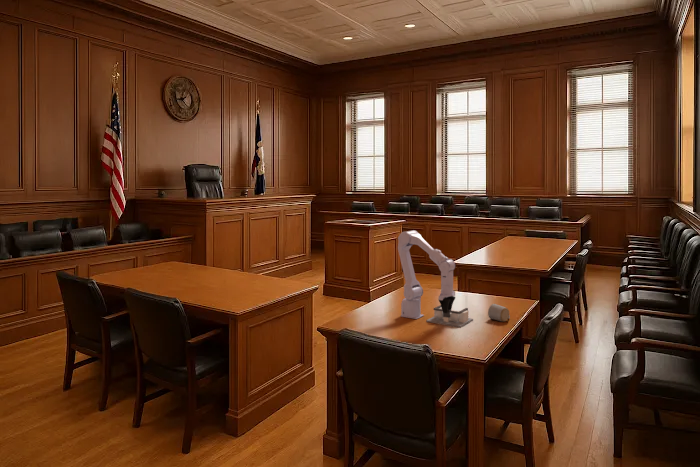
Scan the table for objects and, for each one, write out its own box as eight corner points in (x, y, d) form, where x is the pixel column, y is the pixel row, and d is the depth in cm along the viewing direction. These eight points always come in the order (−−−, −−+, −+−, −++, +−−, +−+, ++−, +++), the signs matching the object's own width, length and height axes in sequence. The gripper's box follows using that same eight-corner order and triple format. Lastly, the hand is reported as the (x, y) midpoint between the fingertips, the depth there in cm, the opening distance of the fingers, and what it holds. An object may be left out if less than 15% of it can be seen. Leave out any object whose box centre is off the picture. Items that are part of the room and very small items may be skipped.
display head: (460, 327, 241) (460, 316, 241) (426, 321, 252) (426, 310, 251) (473, 320, 253) (473, 309, 253) (439, 315, 264) (440, 304, 263)
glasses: (459, 322, 245) (459, 312, 244) (433, 317, 253) (433, 308, 253) (467, 317, 253) (467, 307, 252) (442, 313, 261) (442, 303, 261)
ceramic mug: (501, 323, 247) (501, 307, 247) (487, 319, 254) (487, 304, 253) (514, 319, 254) (514, 304, 253) (500, 316, 260) (500, 301, 260)
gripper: (448, 288, 240) (448, 316, 241) (460, 282, 251) (460, 309, 253) (434, 286, 244) (434, 314, 245) (447, 281, 255) (447, 307, 257)
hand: (446, 311), depth 249 cm, fingers open, 3 cm apart
